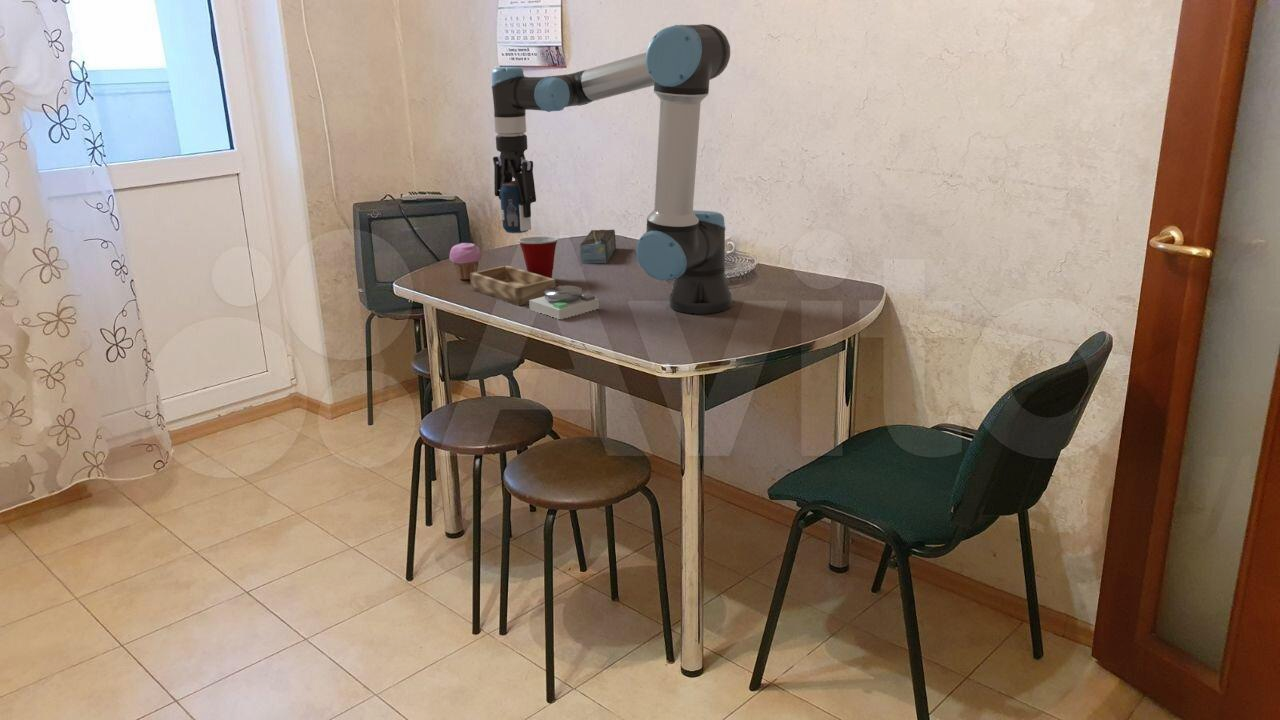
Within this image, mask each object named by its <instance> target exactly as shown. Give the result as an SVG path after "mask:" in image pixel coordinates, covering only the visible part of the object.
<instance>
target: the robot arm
mask: <svg viewBox="0 0 1280 720" xmlns="http://www.w3.org/2000/svg"><path fill="white" fill-rule="evenodd" d="M730 58H731V45H730V43H729V40H728V38H727V36H726V35H725V33H724V32H723V31H722V30H721V29H720V28H718V27H716V26H715V25H711V24H706V23H705V24H704V23H703V24H674V25H672V26H667V27H664V28H662V29H660V30H659V31H658V32H657V33H655V35H654V36H653V37H652V39H651V40H650V41H649V44H648V46H647V48H646V52H643V53H640V54H637V55H632V56H629V57H626V58H622V59H619V60H614V61H612V62H608V63H605V64H601V65H598V66H594V67H591V68H588V69H583V70H580V71H576V72H573V73H569V74H559V75H548V76H525V75H524V69H523V68H522V67H520V66H519V67H518V66H505V67H504V66H503V67H496V68H494V69H493V70H492V72H491V90H492V101H493V114H494V118H493V120H494V132H495V133H496V134H497V135H496V136H495V147H496V151H497V152H500V154H499V155H498V156H493V157H492V161H493V162H492V163H493V167H494V170H493V171H494V173H493V174H494V183H493V184H494V188H493V189H494V196H495V197H498V200H499V201H501V192H500V190H501V188H502V186H503V185H502V183H504V182H510V181H513V178H514V181H515V182H516V185H517V189H518V193H519V197H520V201H521V203H519V214H520V230H521V231H526V230H528V231H530V230H532V222H531V221H532V220H531V219H532V217H531V216H532V211H531V206H532V204H533V203H536V202H537V195H536V188H535V179H534V171H533V170H534V169H533V168H534V162H533V160H527V159H526V157H525V151H527V150H528V136H527V134H525V133H526V132H527V122H526V121H527V119H526V118H527V117H526V116H527V115H526V110H529V111H540V112H541V111H542V112H543V111H544V112H548V113H550V112H561V111H563V110H564V109H565V108H569V107H577V106H585V105H588V104H590V103H592V102H595V101H599V100H603V99H607V98H610V97H614V96H619V95H622V94H623V95H624V94H626V93H631V92H634V91H638V90H641V89H645V88H650V87H653V93H654V94H655V95H656V96H657V97H658V99H659V100H660V104H659V119H658V139H657V141H658V142H657V157H656V158H657V159H656V177H655V178H656V179H655V194H654V209H653V210H652V212H650V213H649V214H647V217H646V232H644V233H643V234H642V235H641V237H640V238H638V239H639V240H638V241H637V243H636V246H635V247H636V248H635V253H636V258H637V261H638V264H639V265H640V268H642V269H643V270H644V272H645V274H647V275H648V276H649V277H651V278H652V279H655V280H658V281H664V282H665V281H670V280H672V279H673V280H674V281H673V286H672V291H671V293H670V295H669V307H670V309H672V310H674V311H676V312H679V313H684V312H685V314H692V313H694V314H693V315H697V314H698V315H699V314H701V315H703V314H704V315H705V314H715V313H719V312H724V311H726V310H728V309H730V308H731V307H732V306H733V297H732V293H731V292H730V289H729V285H728V284H729V283H728V281H727V278H726V277H727V276H726V274H725V270H726V269H725V268H726V267H725V265H726V263H725V261H726V256H725V255H726V253H725V252H726V251H725V250H726V249H725V248H726V246H725V245H726V244H725V243H726V225H725V217H724V215H723V214H722V213H720V212H717V211H709V210H694V200H695V199H694V197H695V185H696V170H697V157H698V143H699V129H700V116H701V115H700V114H701V104H702V101H703V100H704V99H705V98H706V97H708V96H709V91H710V80H712V79H715V78H717V77H718V76H720V75H721V74H722V73H723V72H724V71H725V70H726V68H727V67H728V64H729V63H730ZM500 211H501V212H502V207H501V206H500Z"/></svg>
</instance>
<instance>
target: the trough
mask: <svg viewBox="0 0 1280 720" xmlns="http://www.w3.org/2000/svg"><path fill="white" fill-rule="evenodd" d="M469 280H470V289H471V290H472V291H475V292H477V293H480V294H483V295H486V296H489V297H491V298H494V297H495V299H497V298H498V300H500V299H501V300H500V301H503V300H504V302H506V301H507V303H510V304H512V305H516V306H519V307H520V306H523V305H527V304H529V300H532V299H536V298H540V297H544V296H545V290H546V289H548V288H551V287H556V279H555V278H553V277H552V278H549V277H546V276H542V275H539V274H535V273H532V272H528V271H527V270H525V269H521V268H518V267H514V266H511V265H507V264H504V265H501V266H495V267H490V268H488V269H487V268H486V269H482V270H479V271H478V270H477V272H473V273H470V279H469Z"/></svg>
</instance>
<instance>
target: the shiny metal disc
mask: <svg viewBox="0 0 1280 720" xmlns="http://www.w3.org/2000/svg"><path fill="white" fill-rule="evenodd" d="M582 295H583V290H582V288H581V287H579V286H575V285H558V286H556V285H555V287H551V288H548V289H546V290H545V299H546V300H549V301H554V302H567V301H573V300H577V299H579V298H581V297H582Z"/></svg>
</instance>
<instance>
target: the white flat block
mask: <svg viewBox="0 0 1280 720" xmlns="http://www.w3.org/2000/svg"><path fill="white" fill-rule="evenodd" d="M528 304H529V305H528V306H529V311H532V312H534V311H535V312H534V313H537V312H538V314H540V313H542V314H541V315H543V314H546V315H549V316H551V317H550V318H552V317H554V318H553V319H555V318H557V319H556V320H558V319H562V320H564V319H563V318H566V319H568V317H569V318H572V317H571V316H573V317H575V315H576V316H579V314H580V315H583V314H586V313H585V312H587V313H589V312H588V311H591V312H593V311H592V310H594V311H597V310H596V309H598V310H599V309H600V302H599V299H598V298H596V297H595V295H592V294H589V293H588V294H582V297H581V298H579V299H577V300H573V301H567V302H554V301H549V300H546V299H545V296H544V297H540V298H536V299H532V300H529V303H528ZM582 313H583V314H582ZM546 315H545V316H546ZM549 316H548V317H549Z"/></svg>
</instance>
